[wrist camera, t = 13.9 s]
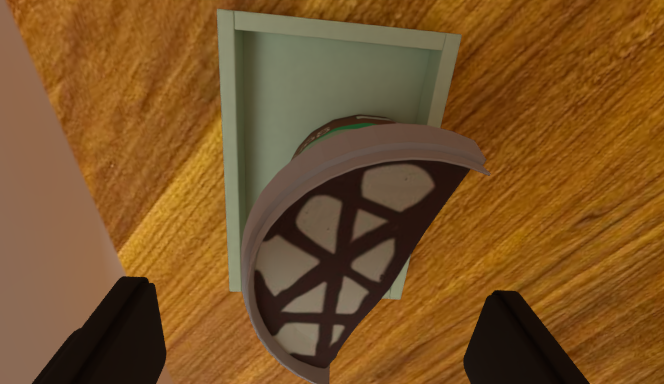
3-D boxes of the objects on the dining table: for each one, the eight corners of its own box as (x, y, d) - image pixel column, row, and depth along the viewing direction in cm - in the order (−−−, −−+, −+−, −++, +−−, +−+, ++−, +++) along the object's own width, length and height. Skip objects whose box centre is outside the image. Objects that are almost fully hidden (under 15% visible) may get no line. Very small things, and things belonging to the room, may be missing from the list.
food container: (320, 48, 18) (322, 62, 9) (416, 100, 19) (502, 159, 10) (238, 226, 22) (185, 356, 13) (321, 259, 24) (322, 396, 15)
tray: (237, 267, 25) (229, 291, 22) (229, 11, 18) (216, 8, 15) (393, 275, 25) (400, 299, 23) (444, 34, 18) (462, 34, 16)
